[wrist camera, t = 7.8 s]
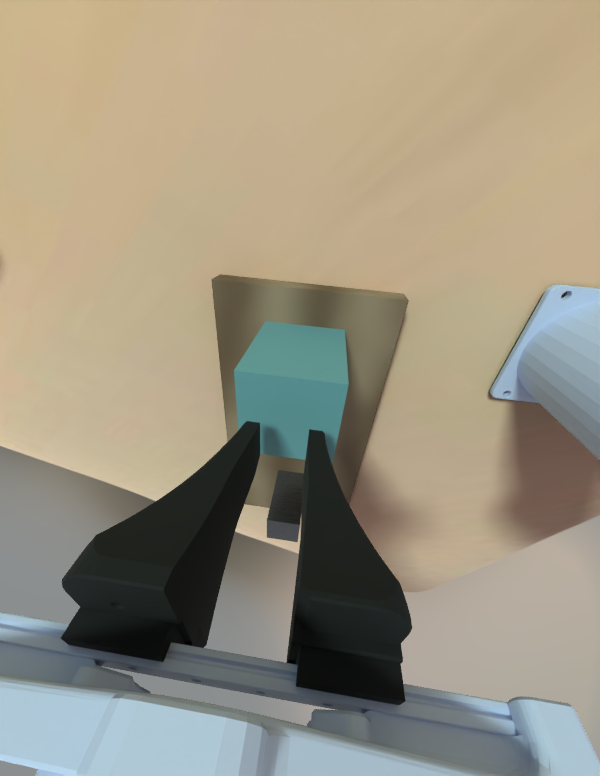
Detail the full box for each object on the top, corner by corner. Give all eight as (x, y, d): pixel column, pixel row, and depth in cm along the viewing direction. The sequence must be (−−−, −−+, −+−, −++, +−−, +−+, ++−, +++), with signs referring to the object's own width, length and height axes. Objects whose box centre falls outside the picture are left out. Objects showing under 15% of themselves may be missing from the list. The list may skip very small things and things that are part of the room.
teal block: (344, 329, 18) (348, 384, 12) (333, 395, 20) (332, 463, 15) (265, 321, 18) (234, 370, 12) (265, 387, 21) (239, 451, 15)
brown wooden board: (403, 293, 17) (408, 300, 16) (344, 506, 30) (344, 519, 29) (220, 274, 18) (211, 279, 17) (237, 490, 31) (233, 502, 29)
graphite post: (305, 473, 26) (299, 524, 21) (303, 490, 27) (297, 541, 23) (278, 470, 26) (267, 519, 22) (277, 487, 27) (266, 537, 23)
